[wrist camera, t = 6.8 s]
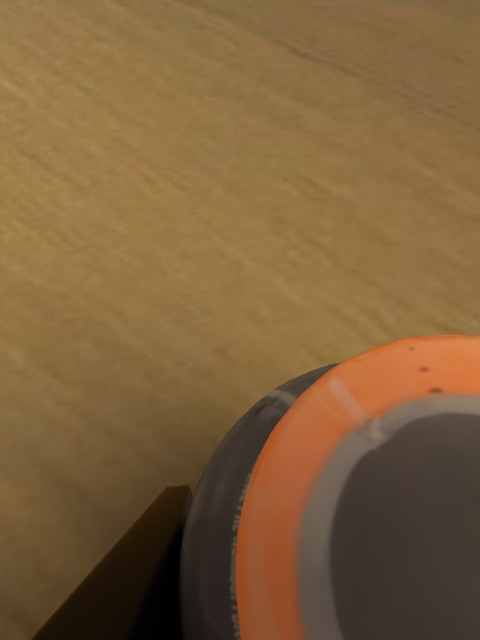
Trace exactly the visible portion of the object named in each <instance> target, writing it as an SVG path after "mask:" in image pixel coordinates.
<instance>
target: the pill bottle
mask: <svg viewBox="0 0 480 640" xmlns="http://www.w3.org/2000/svg"><path fill="white" fill-rule="evenodd" d="M179 608H180V622H181V631H182V638H183V640H480V336H478V335H433V336H424V337H414V338H404V339H400V340H397V341H394V342H391V343H388V344H384V345H380V346H378V347H376V348H373V349H371V350H369V351H366V352H364V353H362V354H359V355H356V356H354V357H352V358H349V359H347V360H345V361H343V362H342V363H337V364H331V365H328V366H325V367H322V368H319V369H316V370H313V371H311V372H308V373H306V374H303V375H301V376H299V377H297V378H295V379H292V380H290V381H288V382H286V383H285V384H283V385H281V386H279V387H278V388H276V389H275V390H274V391H272V392H271V393H270V394H268V395H267V396H265V397H264V398H263V399H261V400H260V401H258V402H257V403H256V404H255V405H254V406H253V407H252V408H251V409H250V410H249V411H248V412H247V413H246V414H245V415H244V416H243V417H241V418H240V419H239V420H238V422H237V423H236V424H235V425H234V426H233V427H232V428H231V430H230V431H229V432H228V433H227V434H226V436H225V437H224V439H223V441H222V442H221V443H220V445H219V446H218V448H217V449H216V451H215V453H214V454H213V456H212V458H211V460H210V462H209V464H208V465H207V467H206V469H205V471H204V473H203V475H202V477H201V479H200V481H199V483H198V486H197V489H196V491H195V494H194V497H193V500H192V503H191V506H190V509H189V513H188V516H187V520H186V524H185V530H184V535H183V541H182V546H181V554H180V564H179Z"/></svg>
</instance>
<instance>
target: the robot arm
mask: <svg viewBox="0 0 480 640" xmlns="http://www.w3.org/2000/svg"><path fill="white" fill-rule="evenodd" d="M192 500H193V495H192V490H191V488H190V486H189V485H178V486H170V487H167V488H165V489H164V490H163V492H162V493H161V494H160V495H159V496H158V497H157V498H156V499H155V500H154V502H153V503H152V504H151V505H150V506H149V507H148V508H147V509H146V511H145V512H144V513H143V514H142V515H141V516H140V517H139V518H138V520H137V521H136V522H135V523H134V524H133V525H132V526H131V527H130V529H129V530H128V531H127V532H126V533H125V534H124V535H123V536H122V538H121V539H120V540H119V541H118V542H117V543H116V544H115V545H114V546H113V548H112V549H111V550H110V551H109V552H108V553H107V554H106V555H105V557H104V558H103V559H102V560H101V561H100V562H99V563H98V564H97V566H96V567H95V568H94V569H93V570H92V571H91V572H90V573H89V575H88V576H87V577H86V578H85V579H84V580H83V581H82V582H81V584H80V585H79V586H78V587H77V588H76V589H75V590H74V591H73V593H72V594H71V595H70V596H69V597H68V598H67V599H66V600H65V601H64V603H63V604H62V605H61V606H60V607H59V608H58V609H57V610H56V612H55V613H54V614H53V615H52V616H51V617H50V618H49V619H48V621H47V622H46V623H45V624H44V625H43V626H42V627H41V628H40V630H39V631H38V632H37V633H36V634H35V635H34V636H33V637H32V639H31V640H183V638H182V631H181V622H180V608H179V564H180V554H181V546H182V541H183V535H184V530H185V524H186V520H187V516H188V513H189V509H190V506H191V503H192Z"/></svg>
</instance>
